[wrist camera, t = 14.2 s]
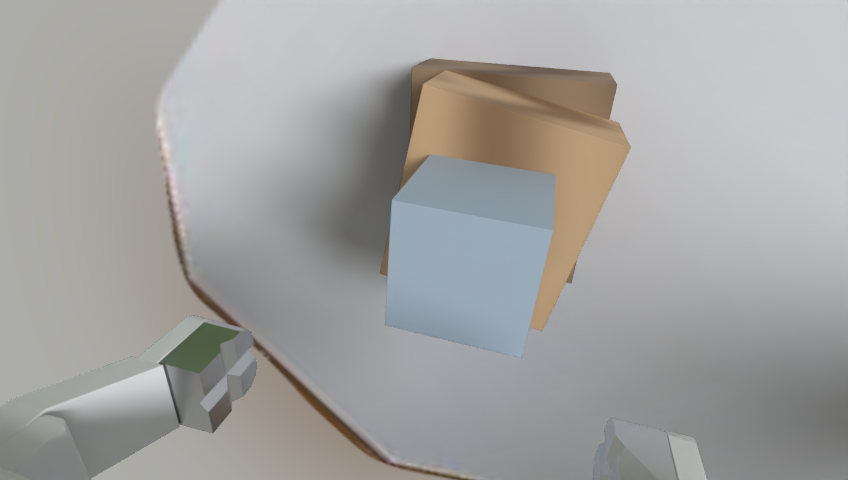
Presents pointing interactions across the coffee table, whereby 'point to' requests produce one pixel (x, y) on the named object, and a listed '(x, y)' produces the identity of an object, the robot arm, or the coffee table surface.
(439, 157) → the slate cube
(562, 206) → the teak block
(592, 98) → the walnut block
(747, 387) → the coffee table surface
